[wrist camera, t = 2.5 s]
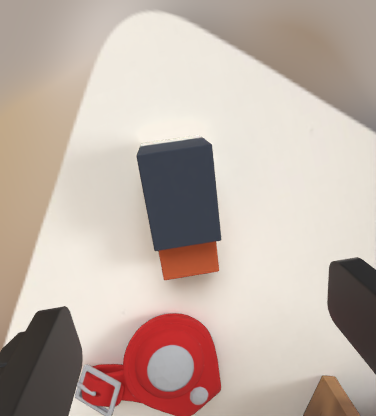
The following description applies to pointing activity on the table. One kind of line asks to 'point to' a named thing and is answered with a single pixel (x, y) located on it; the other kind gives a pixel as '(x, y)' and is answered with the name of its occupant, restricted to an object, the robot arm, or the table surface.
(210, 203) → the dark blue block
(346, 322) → the robot arm
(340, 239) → the table surface
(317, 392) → the shoe shelf
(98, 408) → the tracker holder
